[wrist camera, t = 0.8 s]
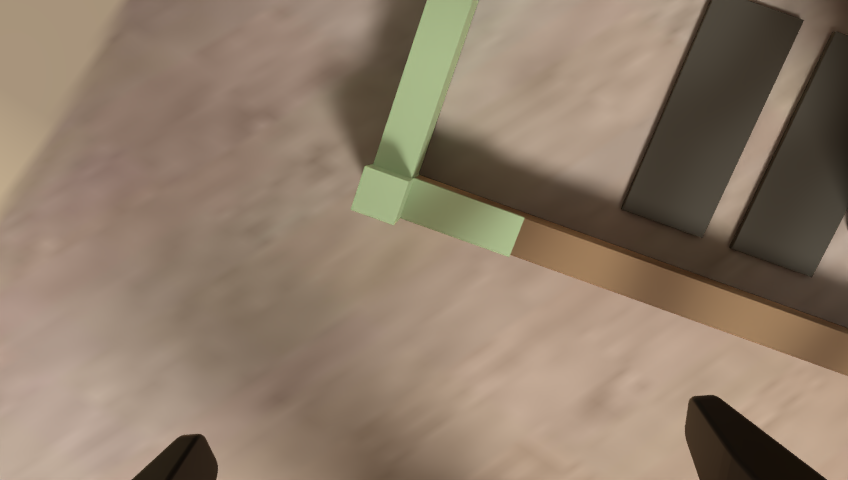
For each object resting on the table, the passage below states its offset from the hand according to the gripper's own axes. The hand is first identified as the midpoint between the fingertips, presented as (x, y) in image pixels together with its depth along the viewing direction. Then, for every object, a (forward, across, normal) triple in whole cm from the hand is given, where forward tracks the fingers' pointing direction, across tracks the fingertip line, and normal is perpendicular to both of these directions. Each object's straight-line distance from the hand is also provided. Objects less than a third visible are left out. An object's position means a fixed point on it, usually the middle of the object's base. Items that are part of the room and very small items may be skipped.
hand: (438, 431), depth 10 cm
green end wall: (+16, -1, -5) cm, 17 cm away
